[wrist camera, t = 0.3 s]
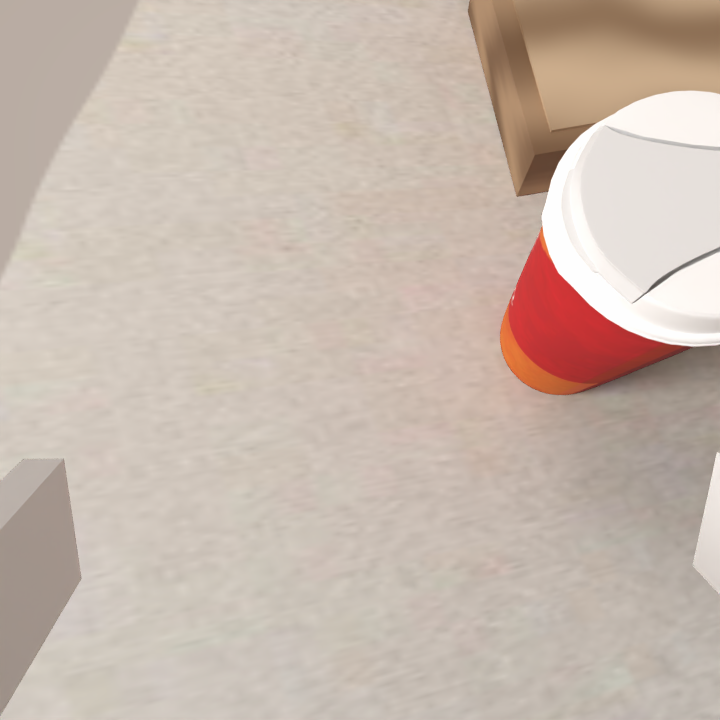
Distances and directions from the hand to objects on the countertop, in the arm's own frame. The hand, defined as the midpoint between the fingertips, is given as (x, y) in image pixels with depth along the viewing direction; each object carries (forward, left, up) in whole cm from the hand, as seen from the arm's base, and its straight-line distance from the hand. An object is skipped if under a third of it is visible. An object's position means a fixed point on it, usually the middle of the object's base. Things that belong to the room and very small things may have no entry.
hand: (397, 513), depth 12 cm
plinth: (+21, -16, -16) cm, 31 cm away
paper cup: (+7, -10, -16) cm, 20 cm away
